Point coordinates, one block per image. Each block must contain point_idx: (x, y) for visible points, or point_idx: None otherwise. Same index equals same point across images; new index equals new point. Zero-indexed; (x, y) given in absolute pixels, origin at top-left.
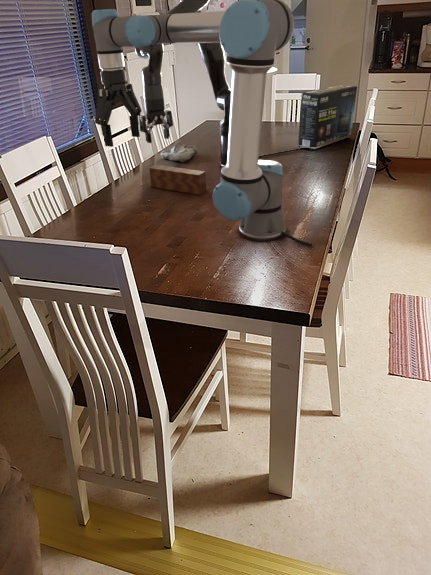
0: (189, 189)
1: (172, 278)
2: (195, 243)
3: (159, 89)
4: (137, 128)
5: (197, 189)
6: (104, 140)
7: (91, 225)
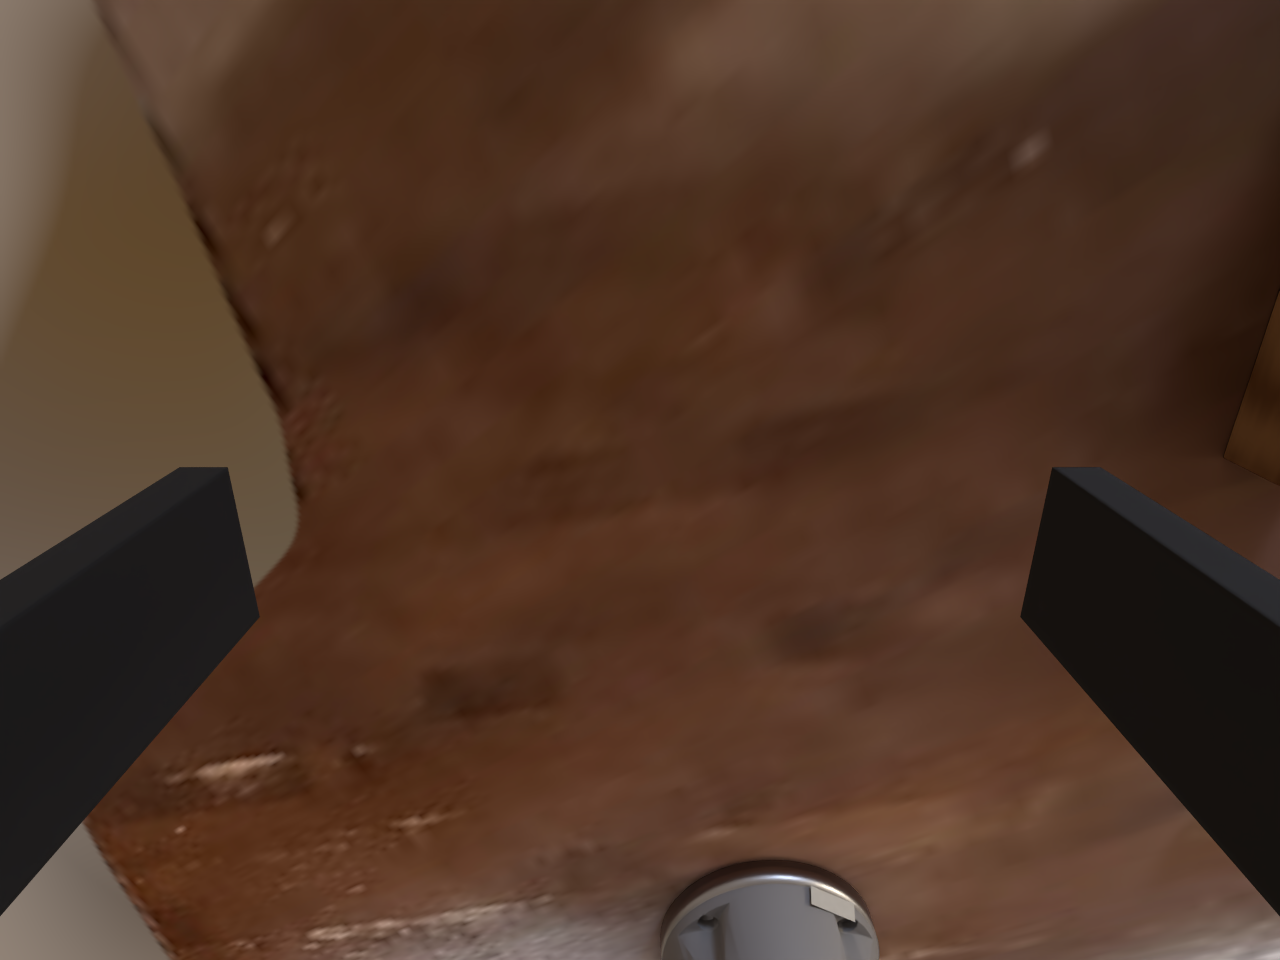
0: (1276, 377)
1: (207, 830)
2: (523, 765)
3: None
4: (1124, 724)
5: (1258, 453)
6: (109, 515)
7: (406, 47)
